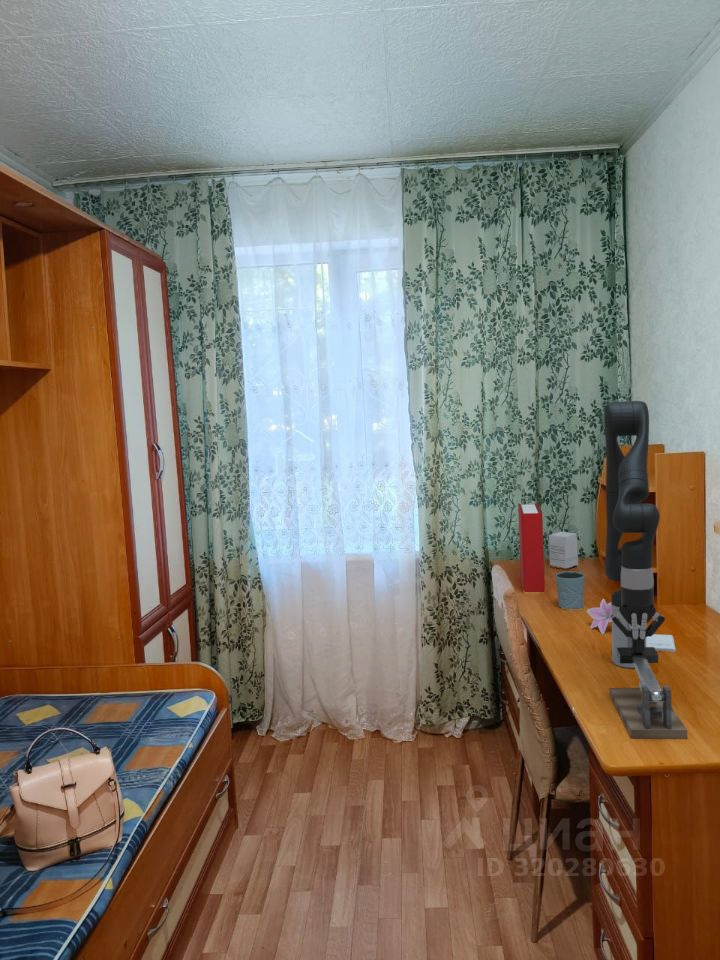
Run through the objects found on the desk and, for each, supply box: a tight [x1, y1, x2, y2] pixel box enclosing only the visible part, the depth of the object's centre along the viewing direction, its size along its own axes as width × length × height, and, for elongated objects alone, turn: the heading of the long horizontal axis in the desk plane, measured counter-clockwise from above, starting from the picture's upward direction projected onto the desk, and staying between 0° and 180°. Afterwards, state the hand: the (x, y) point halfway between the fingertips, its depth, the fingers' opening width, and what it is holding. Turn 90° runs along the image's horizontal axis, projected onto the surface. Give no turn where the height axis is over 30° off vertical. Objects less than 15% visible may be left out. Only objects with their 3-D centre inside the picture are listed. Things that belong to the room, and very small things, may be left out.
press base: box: [609, 684, 688, 740], centre depth 177 cm, size 24×12×11 cm, turn 173°
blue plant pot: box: [555, 570, 586, 610], centre depth 267 cm, size 10×10×12 cm
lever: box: [617, 647, 665, 702], centre depth 176 cm, size 21×9×4 cm, turn 173°
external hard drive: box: [646, 633, 677, 653], centre depth 225 cm, size 2×8×12 cm
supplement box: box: [548, 531, 579, 568], centre depth 326 cm, size 9×9×15 cm
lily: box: [586, 598, 612, 635], centre depth 241 cm, size 12×12×10 cm
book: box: [517, 502, 546, 592], centre depth 298 cm, size 27×8×32 cm, turn 170°
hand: (638, 652), depth 183 cm, fingers closed
